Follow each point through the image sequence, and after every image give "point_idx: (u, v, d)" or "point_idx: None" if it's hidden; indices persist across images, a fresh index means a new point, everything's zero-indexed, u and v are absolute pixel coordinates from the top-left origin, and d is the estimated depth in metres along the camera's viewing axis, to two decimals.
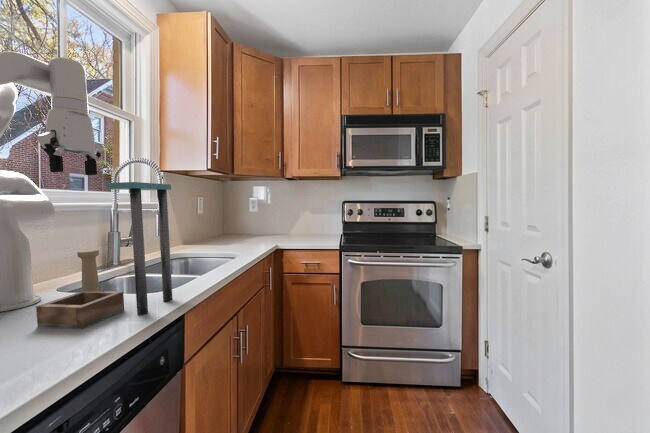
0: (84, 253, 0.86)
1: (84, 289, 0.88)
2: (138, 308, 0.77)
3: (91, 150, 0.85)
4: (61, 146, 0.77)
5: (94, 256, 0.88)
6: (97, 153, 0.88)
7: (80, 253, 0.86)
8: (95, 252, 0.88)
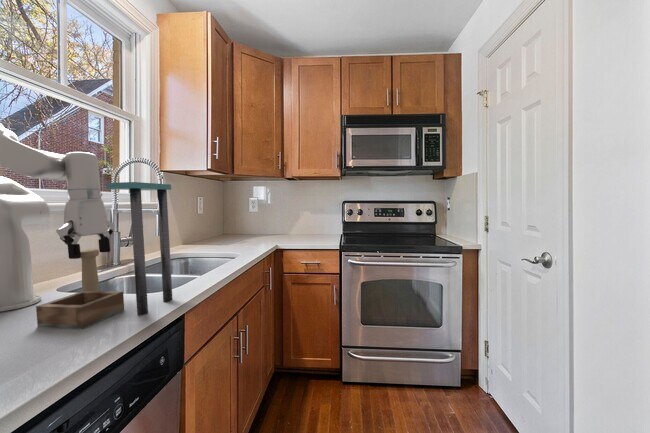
0: (84, 253, 0.86)
1: (84, 289, 0.88)
2: (138, 308, 0.77)
3: (104, 231, 0.92)
4: (78, 235, 0.84)
5: (94, 256, 0.88)
6: (110, 231, 0.95)
7: None
8: (95, 252, 0.88)
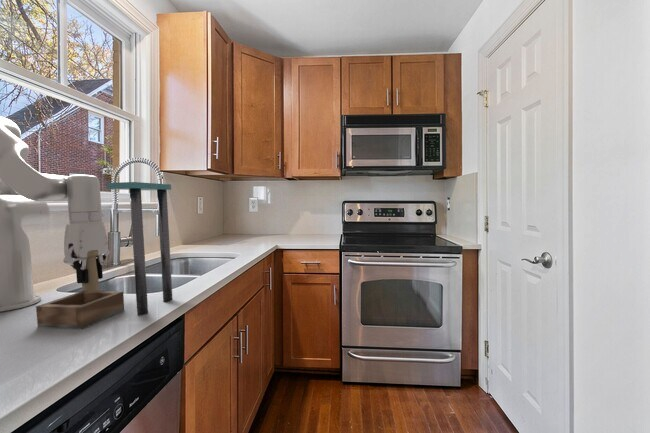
0: None
1: (84, 289, 0.88)
2: (138, 308, 0.77)
3: (104, 252, 0.92)
4: (83, 260, 0.86)
5: (94, 256, 0.88)
6: (103, 256, 0.93)
7: None
8: (95, 252, 0.88)
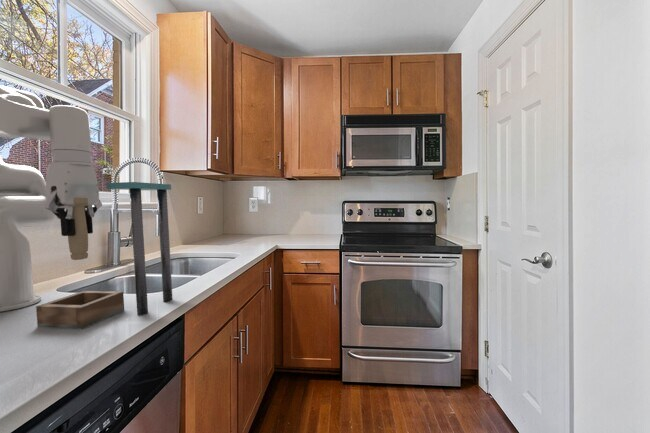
0: None
1: (70, 243, 0.74)
2: (138, 308, 0.77)
3: (95, 202, 0.78)
4: (69, 207, 0.72)
5: (82, 205, 0.74)
6: (93, 208, 0.79)
7: None
8: (84, 200, 0.74)
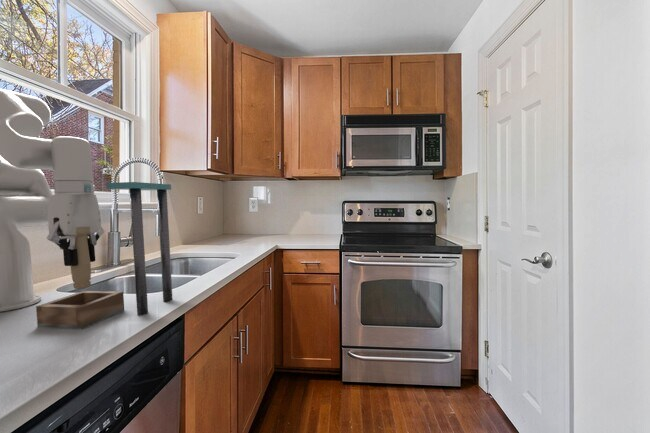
0: None
1: (73, 273, 0.74)
2: (138, 308, 0.77)
3: (97, 230, 0.78)
4: (71, 238, 0.72)
5: (85, 234, 0.75)
6: (95, 236, 0.79)
7: None
8: (86, 229, 0.74)
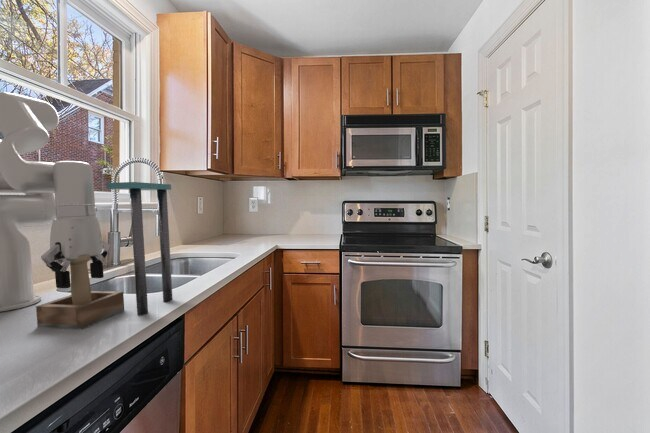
0: None
1: (74, 300, 0.74)
2: (138, 308, 0.77)
3: (98, 252, 0.79)
4: (67, 260, 0.71)
5: (85, 261, 0.75)
6: (103, 253, 0.82)
7: None
8: (86, 256, 0.75)
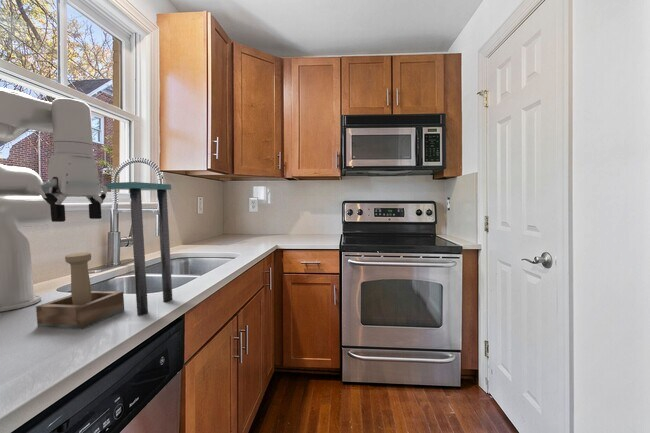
0: (73, 258, 0.73)
1: (74, 300, 0.74)
2: (138, 308, 0.77)
3: (95, 194, 0.80)
4: (63, 194, 0.72)
5: (85, 261, 0.75)
6: (102, 195, 0.83)
7: (68, 258, 0.72)
8: (86, 256, 0.75)
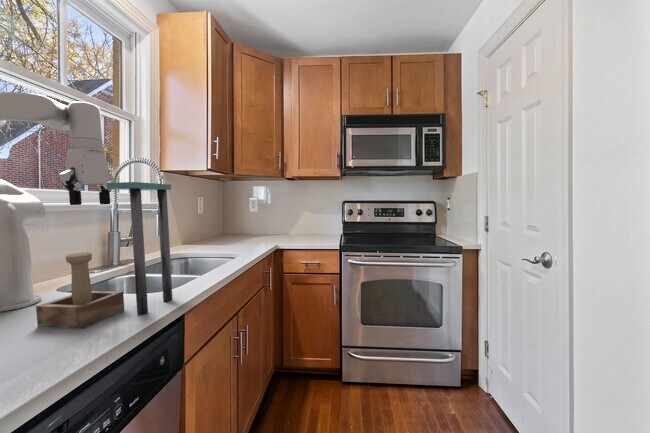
0: (74, 258, 0.73)
1: (74, 300, 0.74)
2: (138, 308, 0.77)
3: (105, 182, 0.94)
4: (79, 182, 0.86)
5: (86, 261, 0.75)
6: None
7: (69, 258, 0.72)
8: (87, 256, 0.75)
